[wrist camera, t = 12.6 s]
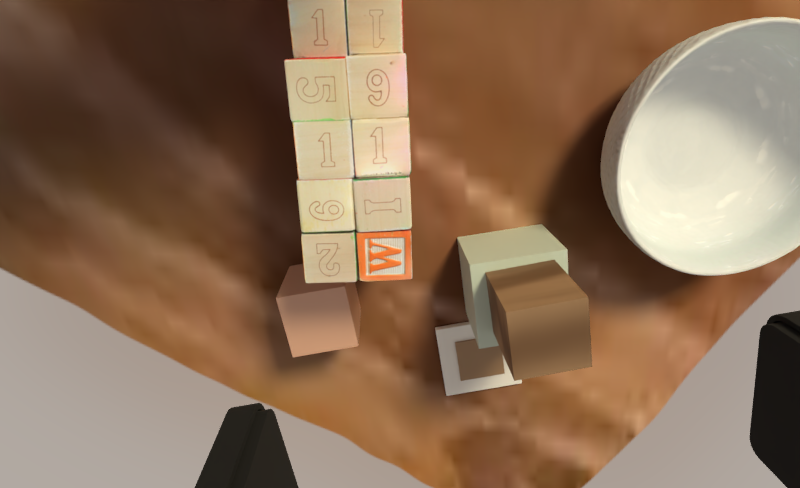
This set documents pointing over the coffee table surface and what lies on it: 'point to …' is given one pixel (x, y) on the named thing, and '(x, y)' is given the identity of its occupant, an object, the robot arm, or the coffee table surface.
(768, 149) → the cereal bowl
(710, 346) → the coffee table surface
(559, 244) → the sage base block
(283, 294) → the terracotta block
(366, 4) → the stack of blocks
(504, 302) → the walnut block
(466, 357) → the tile
